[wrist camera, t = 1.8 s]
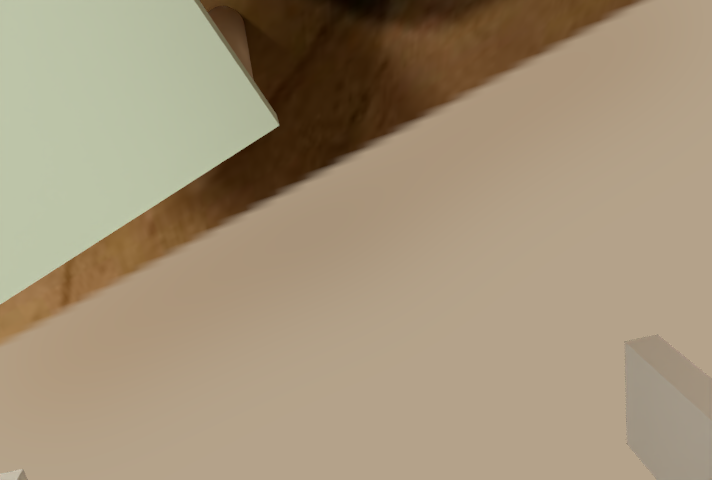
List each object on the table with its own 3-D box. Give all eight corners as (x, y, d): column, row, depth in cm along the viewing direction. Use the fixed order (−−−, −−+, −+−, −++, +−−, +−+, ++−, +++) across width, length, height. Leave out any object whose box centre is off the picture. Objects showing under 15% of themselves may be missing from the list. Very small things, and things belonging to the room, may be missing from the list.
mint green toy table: (-159, -72, 26) (-506, -63, 14) (73, -241, 25) (-77, -397, 13) (64, 171, 32) (-37, 328, 20) (258, 43, 31) (279, 125, 19)
